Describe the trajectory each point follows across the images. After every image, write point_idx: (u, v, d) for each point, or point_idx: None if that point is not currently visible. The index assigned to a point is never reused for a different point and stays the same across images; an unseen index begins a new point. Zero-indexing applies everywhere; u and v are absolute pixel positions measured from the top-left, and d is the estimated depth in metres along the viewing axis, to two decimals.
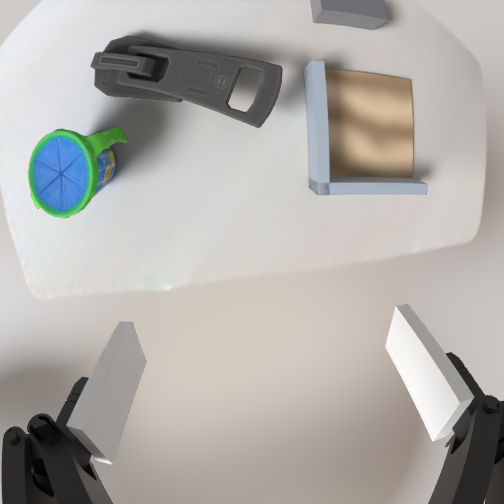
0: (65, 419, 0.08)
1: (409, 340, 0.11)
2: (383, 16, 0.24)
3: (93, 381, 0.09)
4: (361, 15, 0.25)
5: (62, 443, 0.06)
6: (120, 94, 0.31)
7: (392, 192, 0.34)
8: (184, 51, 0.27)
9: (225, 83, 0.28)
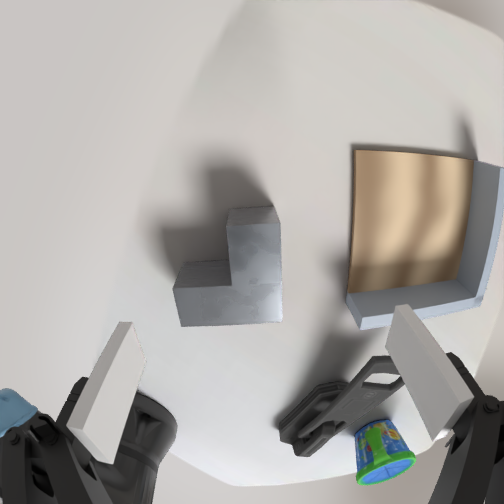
0: (65, 419, 0.08)
1: (409, 340, 0.11)
2: (275, 231, 0.22)
3: (93, 381, 0.09)
4: None
5: (62, 443, 0.06)
6: None
7: (500, 223, 0.21)
8: (325, 415, 0.31)
9: (373, 393, 0.29)
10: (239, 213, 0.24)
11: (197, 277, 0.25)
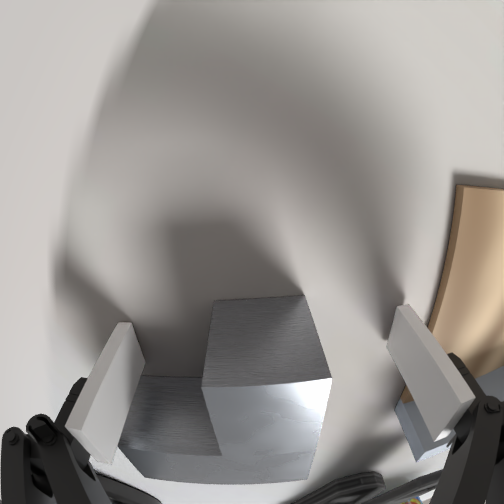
0: (64, 420, 0.08)
1: (410, 340, 0.11)
2: (317, 392, 0.08)
3: (92, 382, 0.09)
4: (318, 430, 0.10)
5: (61, 443, 0.06)
6: None
7: None
8: None
9: (407, 498, 0.15)
10: (234, 324, 0.11)
11: (159, 421, 0.12)
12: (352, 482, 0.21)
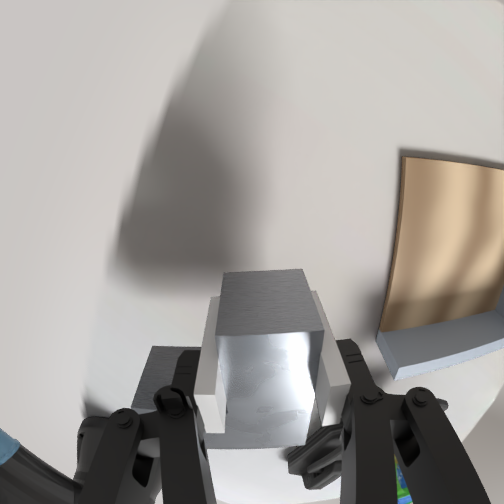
0: None
1: None
2: (312, 343, 0.10)
3: (208, 349, 0.11)
4: (314, 388, 0.12)
5: (189, 419, 0.08)
6: None
7: None
8: (337, 455, 0.25)
9: None
10: (241, 289, 0.13)
11: None
12: None
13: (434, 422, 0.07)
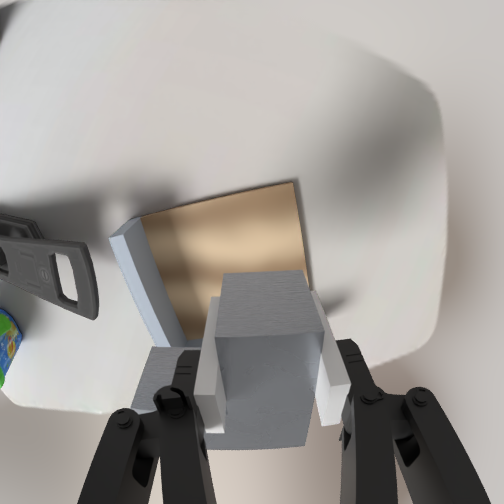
0: None
1: None
2: (312, 345, 0.10)
3: (208, 349, 0.11)
4: (314, 389, 0.12)
5: (189, 419, 0.08)
6: None
7: None
8: (8, 241, 0.22)
9: (47, 276, 0.23)
10: (241, 290, 0.13)
11: None
12: (36, 236, 0.26)
13: (434, 422, 0.07)
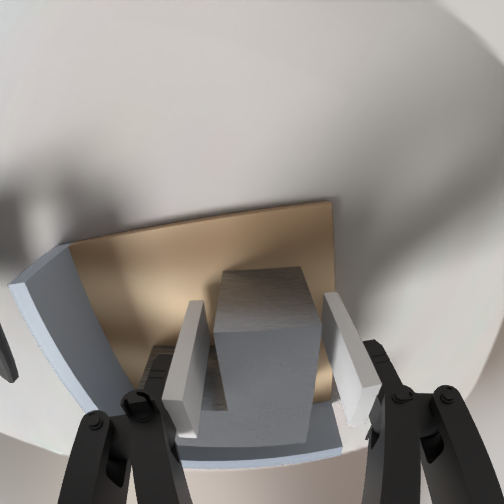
0: None
1: (331, 325, 0.13)
2: (310, 339, 0.11)
3: (180, 354, 0.11)
4: (313, 384, 0.12)
5: (156, 423, 0.08)
6: None
7: (259, 466, 0.16)
8: None
9: None
10: (240, 287, 0.13)
11: None
12: None
13: (459, 420, 0.06)
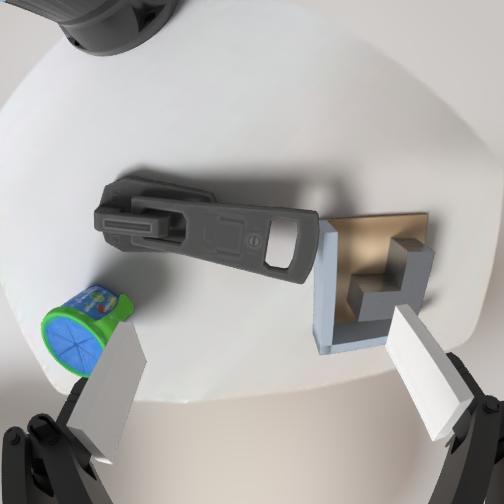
0: (65, 419, 0.08)
1: (409, 340, 0.11)
2: (431, 256, 0.30)
3: (93, 381, 0.09)
4: (427, 278, 0.31)
5: (62, 443, 0.06)
6: (139, 251, 0.33)
7: None
8: (200, 205, 0.28)
9: (258, 243, 0.29)
10: (402, 242, 0.33)
11: (372, 285, 0.33)
12: None
13: None
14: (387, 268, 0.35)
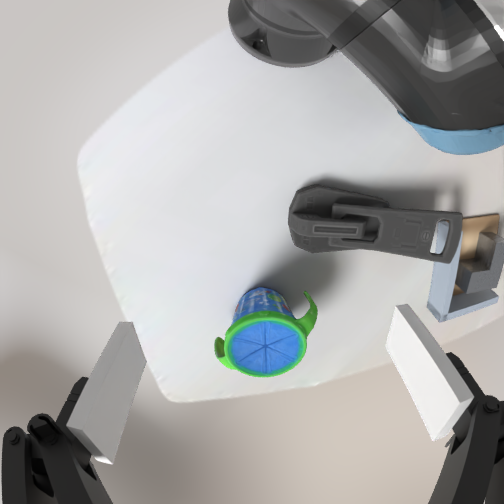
0: (65, 419, 0.08)
1: (409, 340, 0.11)
2: None
3: (93, 381, 0.09)
4: (503, 260, 0.36)
5: (62, 443, 0.06)
6: (328, 251, 0.39)
7: (479, 308, 0.41)
8: (393, 211, 0.34)
9: (428, 237, 0.34)
10: (488, 235, 0.38)
11: (473, 266, 0.38)
12: None
13: None
14: (477, 254, 0.40)
